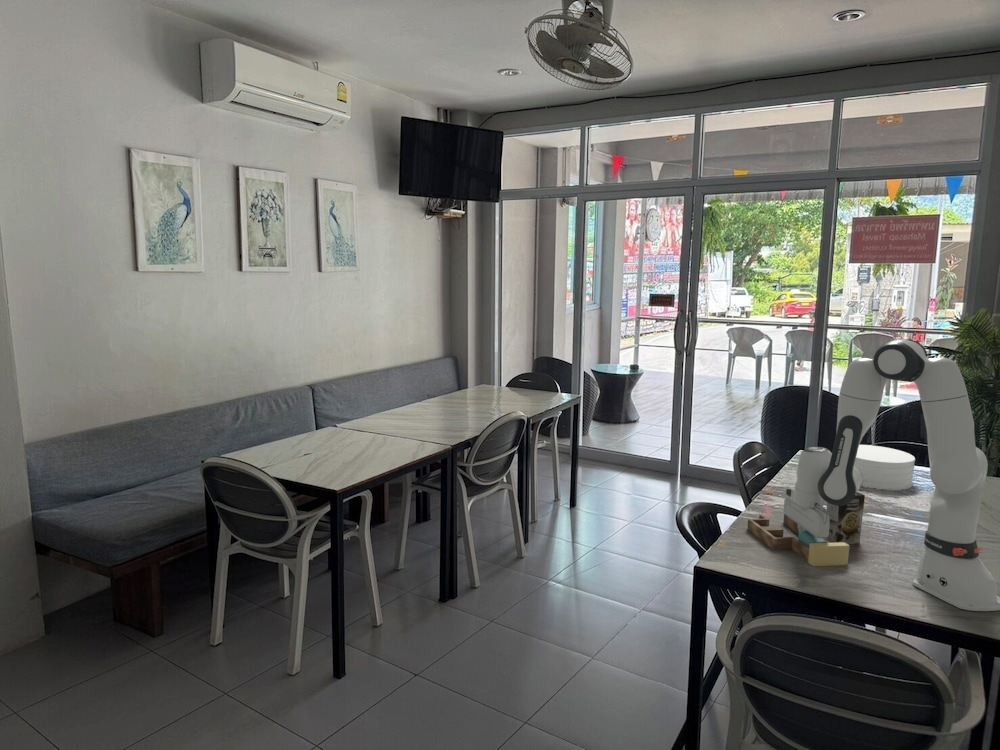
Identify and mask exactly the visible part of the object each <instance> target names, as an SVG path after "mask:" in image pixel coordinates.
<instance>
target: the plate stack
mask: <svg viewBox="0 0 1000 750" xmlns="http://www.w3.org/2000/svg"><path fill="white" fill-rule="evenodd" d="M915 463H916V458H915V456H914V455H912V454H911V453H909V452H906V451H903V450H900V449H895V448H891V447H885V446H880V445H879V446H878V445H870V444H859V447H858V451H857V456H856V460H855V464H854V465H855V466H856V467H857V468H858V469H859V470H860V471H861V473H862V476H863V482H862V485H861V486H860V487H862V486H863V487H864V488H867V487H869V489H873V488H876V489H875V490H881V489H886V490H885V491H902V490H901V489H904V490H908V489H911V488H912V486H913V479H914V476H913V475H914V470H915V469H914V468H915Z"/></svg>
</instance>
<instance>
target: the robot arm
mask: <svg viewBox="0 0 1000 750" xmlns="http://www.w3.org/2000/svg"><path fill="white" fill-rule="evenodd" d="M844 373H845V374H844V375H843V379H842V383H841V386H840V391H839V395H838V400H837V401H838V402H837V417H836V418H837V419H836V433H835V438H834V441H833V443H834V444H833V447H832V452H831V450H829V449H828V448H826V447H823V446H811V447H810V446H809V447H807V448H805V449H803V450H801V452H800V454H799V458H798V462H797V466H796V480H795V481H796V482H795V483H794V487H785V491H784V494H785V496H784V501H783V513H784V514H785V515H786V516H788V517H789V518H791V519H792V520H793V521H795V522H796V523H797V524H798V526H797V527H798V532H799V534H798V537H799V536H800V534H801V531H808V532H809V533H811V534H812V535H813V536H815V537H816V538H827V537H828V535H829V524H830V520H829V515H828V514H827V512H826V509H827V508H826V507H824V506H825V502H826V503H827V502H828V503H830V504H832V505H836V506H843V505H846V504H848V503H850V502H851V501H852V500H853V499H854V497H855V494H856V492H858V491H859V490H860V488H861V487H862V486H861V485H862V482H863V476H862V473H861V471H860V470H859V469H858V468H857V467H856V466H855V465H854V464H855V460H856V456H857V451H858V447H859V445H861V442H862V440H863V439H864V436H865V434H866V433H867V432H868V430H869V429H870V427H871V426H872V425H873V424H874V423H875V419H876V418H877V416H878V413H879V411H880V407H881V403H882V401H883V400H882V399H883V395H884V394H883V393H884V391H885V387H886V384H887V383H888V382H889V381H898V382H907V383H914V384H915V386H916V388H917V390H918V394H919V399H920V404H921V409H922V413H923V419H924V422H925V428H926V437H927V438H926V439H927V450H928V451H927V453H928V461H929V475H930V480H931V481H932V484H933V485H934V486H935V488H934V492H933V497H932V499H931V503H930V508H929V509H930V510H929V516H928V524H927V529H926V530H925V532H924V533H925V535H924V536H923V537H924V538H923V539H924V540H923V543H924V545H925V546H924V549H923V552H922V553H921V557H920V559H919V563H918V566H917V571H916V574H915V576H914V579H913V581H912V586H914V587H916V588H918V589H920V590H922V591H924V592H926V593H927V594H930V595H933V596H934V597H936V598H938V599H940V600H942V601H944V602H946V603H948V604H950V605H952V606H954V607H956V608H958V609H961V610H965V611H972V612H994V611H1000V596H998V586H997V581H996V579H995V578H994V575H993V574H992V573H991V572H990V571H989V570H988V569H987V567H986V565H985V564H984V563H983V562H982V560H981V559H980V557H979V556H980V554H981V553H983V552H982V551H983V549H984V548H978V544H977V540H976V534H977V533H976V532H977V528H978V519H979V513H980V510H981V509H980V508H981V504H982V499H983V494H984V491H985V490H984V489H985V484H986V479H987V475H988V467H989V463H988V458H987V456H986V455H985V452H983V451H982V449H980V448H979V447H977V446H976V435H975V421H974V417H973V411H972V407H971V403H970V398H969V395H968V390H967V387H966V386H967V385H966V383H965V380H964V377H963V374H962V373H961V370H960V368H959V366H958V364H957V363H956V362H955V361H954V360H953V359H952V358H951V359H950V358H947V357H942V356H941V357H932V358H931V357H929V356H928V352H927V350H926V348H925V347H924V346H923V345H922V343H920V342H918V341H917V340H914V339H905V338H904V339H893V340H890V341H888V342H885V343H884V344H882V345H880V346H879V347H878V349H876V351H875V352H874V355H873V358H869V357H860V358H857V359H854V360H852V361H850V362H849V364H848V367H847V368H846V370H845V372H844Z"/></svg>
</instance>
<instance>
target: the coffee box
mask: <svg viewBox="0 0 1000 750" xmlns="http://www.w3.org/2000/svg"><path fill="white" fill-rule="evenodd" d="M865 497H866V495H865V494H864V493H860V492H858V491H857V492H856V494H855V497H854V499H853V500H852V501H851V502H850V503H848V504H846V505H843V506H836V505H832V504H830V503H828V502H826V508H825V509H826V512H827V514H828V515H829V520H830V524H829V535H828V537H827V538H824V539H826V540H827V541H829V542H830V543H837V542H845V543H846V544H848V545H854V544H860V542H861V535H862V534H861V533H862V524H863V515H864V506H865Z"/></svg>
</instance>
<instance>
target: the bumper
mask: <svg viewBox="0 0 1000 750" xmlns="http://www.w3.org/2000/svg"><path fill="white" fill-rule="evenodd" d="M849 552H850V544H846V543H845V542H837V543H831V542H830V543H810V546H809V557H808V561H807V563H808V564H809V565H810V566H812V567H823V566H824V567H826V566H847V565H848V564H849V563H848V562H849V554H850V553H849Z"/></svg>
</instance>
